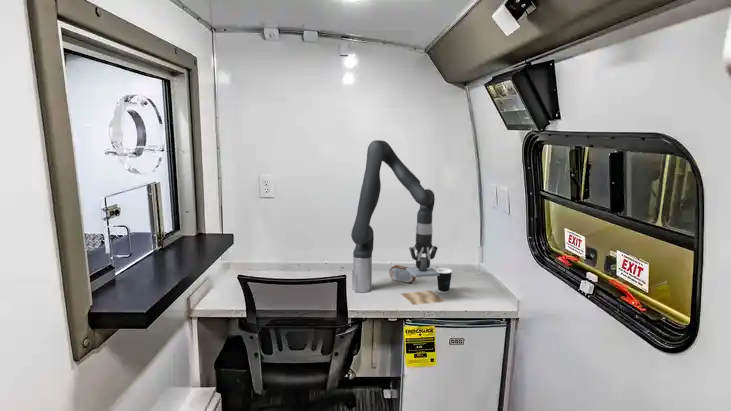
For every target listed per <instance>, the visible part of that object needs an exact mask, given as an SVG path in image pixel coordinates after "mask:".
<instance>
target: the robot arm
mask: <svg viewBox="0 0 731 411" xmlns="http://www.w3.org/2000/svg"><path fill="white" fill-rule="evenodd" d="M366 152H367V153H366V164H365V168H364V169H365V170H364V174H363V180H362V184H361V189H360V193H359V194H360V195H359V199H358V206H357V211H356V217H355V221H354V224H353V227H352V230H351V235H350V236H351V240H352V242H354V244H355V247H354V249H353V252H352V253H353V260H352V261H353V263H352V266H353V267H352V268H353V269H352V271H351V281H352V282H351V284H352V285H351V288H352V290H353V291H354V292H355V293H369V292H371V291H372V290H373V289H372V288H373V285H372V282H373V280H372V279H373V276H372V275H373V273H372V272H373V269H372V268H373V251H374V240H375V239H374V237H375V236H374V228H372V226H371V225H370V224H371V219H372V216H373V214H374V212H375V210H376V207H377V205H378V202H379V199H380V193H381V189H382V188H381V186H382V185H381V184H382V183H381V176H380V175H381V167H382V163H385V164H386V165H387V166H388V167H389V168H390V169H391V170H392V173H393V174H394V175H395V178H396V179H397V180H398V181H399V183H401V184H402V186H403V187H404V188H405V189H406V190H407V191H408V192H409V193H410V195H411V196H412V199H413V200H414V201H415V202H416V203H417V204H418V205H419V210H418V211H417V214H416V227H415V243H414V244H415V245H414V246H412V247H411V246H410V247H409V249H408V250H409V252H410V256H411V258H412V260H414V261H415V267H417V268H418V269H420V258H421V257H423V256H422V255H424V254H425V257H426V258H427V268H429V267H431V260H433V259H435V257H436V254H437V250H438V246H437V245H433V243H432V242H433V211H434V206H435V200H436V198H435V192H434V191H433V190H431V189H430V188H429V189H428V188H427V189H425V188H424V186H422V184H421V180H419V178H418V177H417V176H416V175H415V174H414V173H413V172H412V171H411V170H410V169H409V168H408V167H407V166H406V165H405V164H404V163H403V161H402V160H401V159H400V158H399V157H398V155H397V154H396V152H395V151H394V149H393V148H392V147H391V145H390V144H389V143H388V142H387V141H386V140H380V139H378V140H377V139H376V140H373V141H372V142H370V143H369V145H368V147H367V150H366ZM415 251H416V253H415Z"/></svg>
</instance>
